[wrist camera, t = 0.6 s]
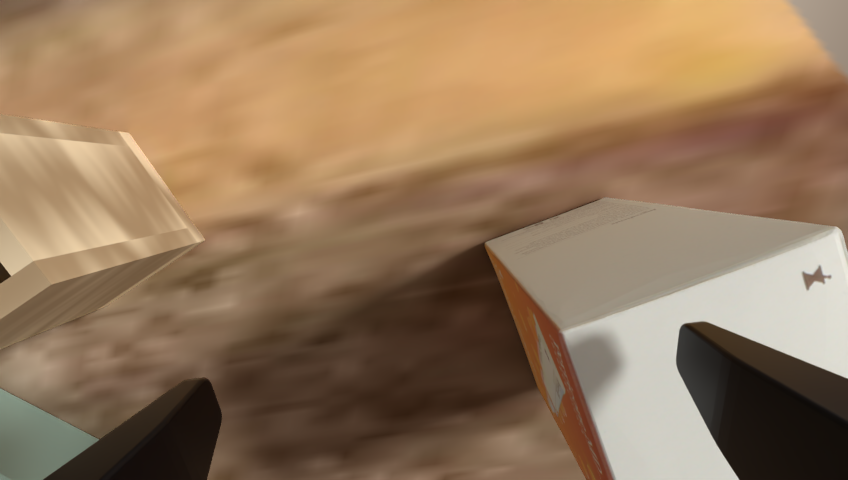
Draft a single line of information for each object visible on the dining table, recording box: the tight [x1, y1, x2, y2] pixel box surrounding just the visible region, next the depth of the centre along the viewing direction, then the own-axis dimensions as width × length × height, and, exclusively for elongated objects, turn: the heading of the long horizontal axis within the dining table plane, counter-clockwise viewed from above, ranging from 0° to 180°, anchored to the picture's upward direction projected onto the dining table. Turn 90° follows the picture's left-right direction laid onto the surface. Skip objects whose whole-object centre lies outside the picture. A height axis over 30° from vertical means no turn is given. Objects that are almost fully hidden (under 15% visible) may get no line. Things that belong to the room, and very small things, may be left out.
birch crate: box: [0, 114, 205, 349], centre depth 18 cm, size 6×6×10 cm
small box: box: [484, 198, 848, 480], centre depth 17 cm, size 8×6×13 cm
